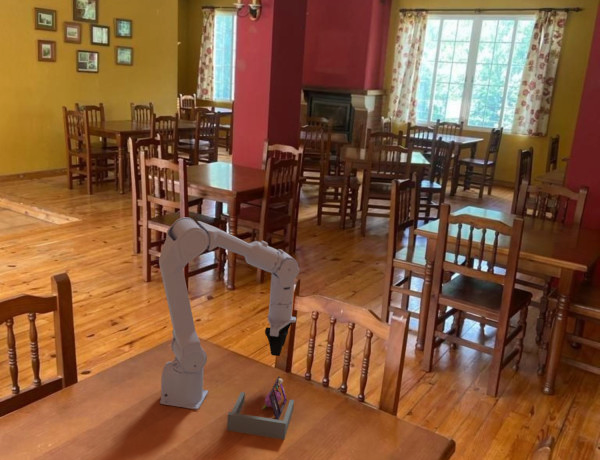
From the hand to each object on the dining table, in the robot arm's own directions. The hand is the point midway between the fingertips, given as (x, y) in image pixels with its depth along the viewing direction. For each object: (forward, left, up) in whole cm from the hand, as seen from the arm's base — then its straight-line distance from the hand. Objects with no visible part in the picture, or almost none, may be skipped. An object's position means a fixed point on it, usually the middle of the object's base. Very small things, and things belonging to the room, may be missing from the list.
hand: (277, 350), depth 146 cm
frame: (0, -16, -9) cm, 19 cm away
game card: (+2, -12, -10) cm, 15 cm away
